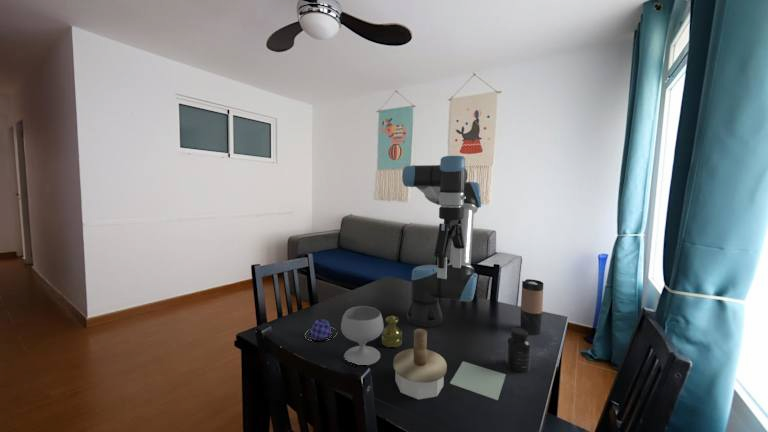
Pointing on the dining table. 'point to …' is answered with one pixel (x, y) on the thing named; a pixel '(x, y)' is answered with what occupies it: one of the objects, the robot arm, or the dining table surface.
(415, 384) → the bowl
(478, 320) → the dining table surface
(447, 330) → the dining table surface
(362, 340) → the chalice
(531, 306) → the travel mug
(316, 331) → the purple plaid hat
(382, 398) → the dining table surface
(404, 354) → the lid
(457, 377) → the mat
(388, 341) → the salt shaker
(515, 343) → the supplement bottle
